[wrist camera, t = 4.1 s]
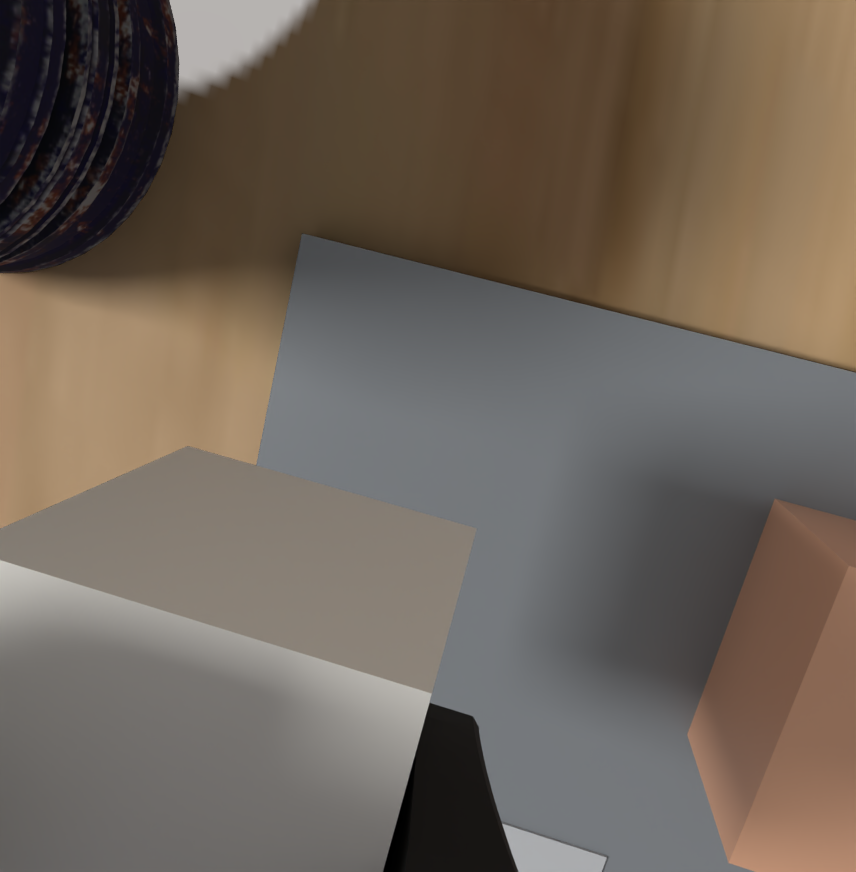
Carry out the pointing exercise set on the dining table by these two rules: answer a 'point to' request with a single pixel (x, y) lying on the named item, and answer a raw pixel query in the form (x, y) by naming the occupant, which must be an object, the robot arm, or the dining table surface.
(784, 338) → the dining table surface
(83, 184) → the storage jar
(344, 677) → the off-white brick
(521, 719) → the baseplate
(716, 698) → the terracotta brick
